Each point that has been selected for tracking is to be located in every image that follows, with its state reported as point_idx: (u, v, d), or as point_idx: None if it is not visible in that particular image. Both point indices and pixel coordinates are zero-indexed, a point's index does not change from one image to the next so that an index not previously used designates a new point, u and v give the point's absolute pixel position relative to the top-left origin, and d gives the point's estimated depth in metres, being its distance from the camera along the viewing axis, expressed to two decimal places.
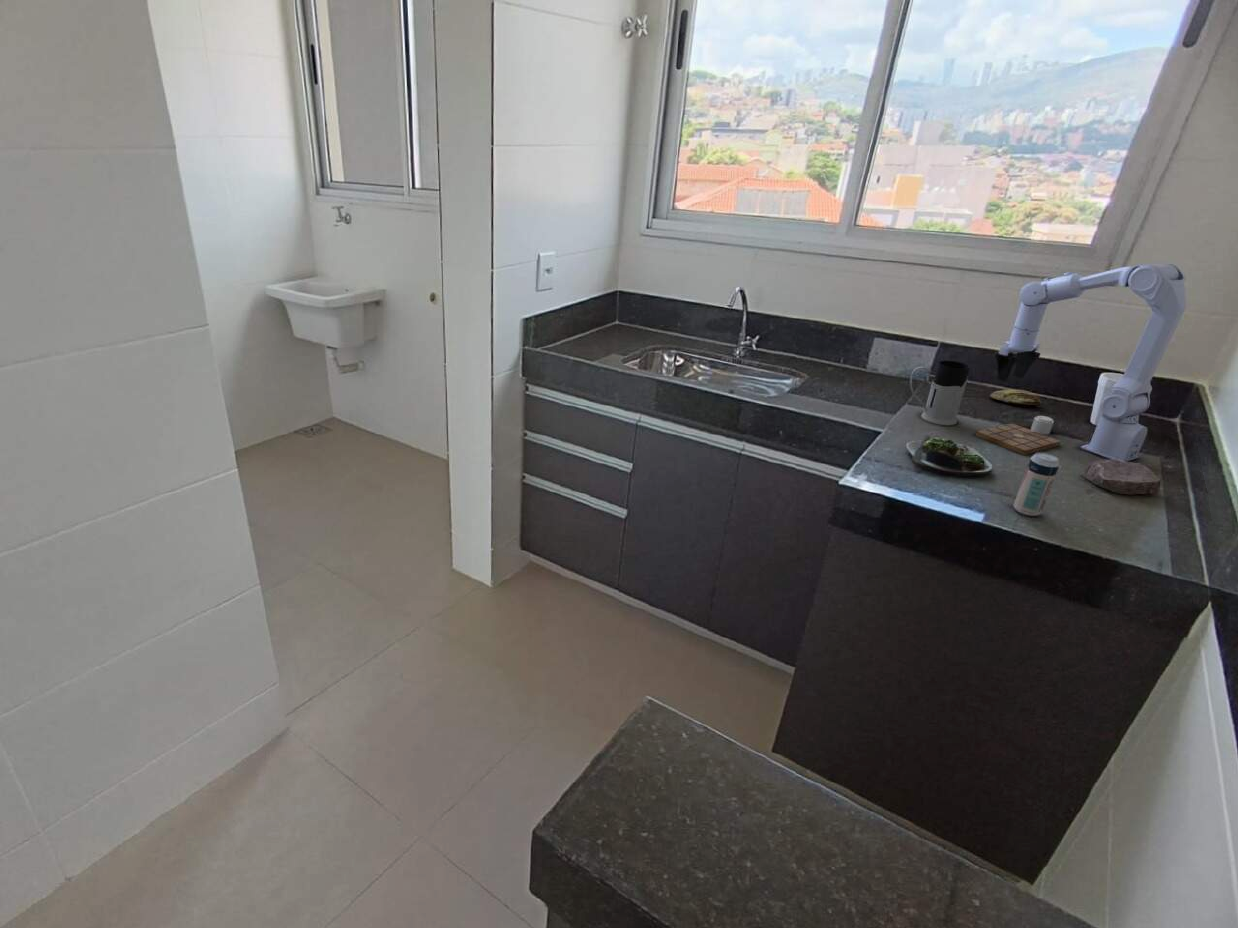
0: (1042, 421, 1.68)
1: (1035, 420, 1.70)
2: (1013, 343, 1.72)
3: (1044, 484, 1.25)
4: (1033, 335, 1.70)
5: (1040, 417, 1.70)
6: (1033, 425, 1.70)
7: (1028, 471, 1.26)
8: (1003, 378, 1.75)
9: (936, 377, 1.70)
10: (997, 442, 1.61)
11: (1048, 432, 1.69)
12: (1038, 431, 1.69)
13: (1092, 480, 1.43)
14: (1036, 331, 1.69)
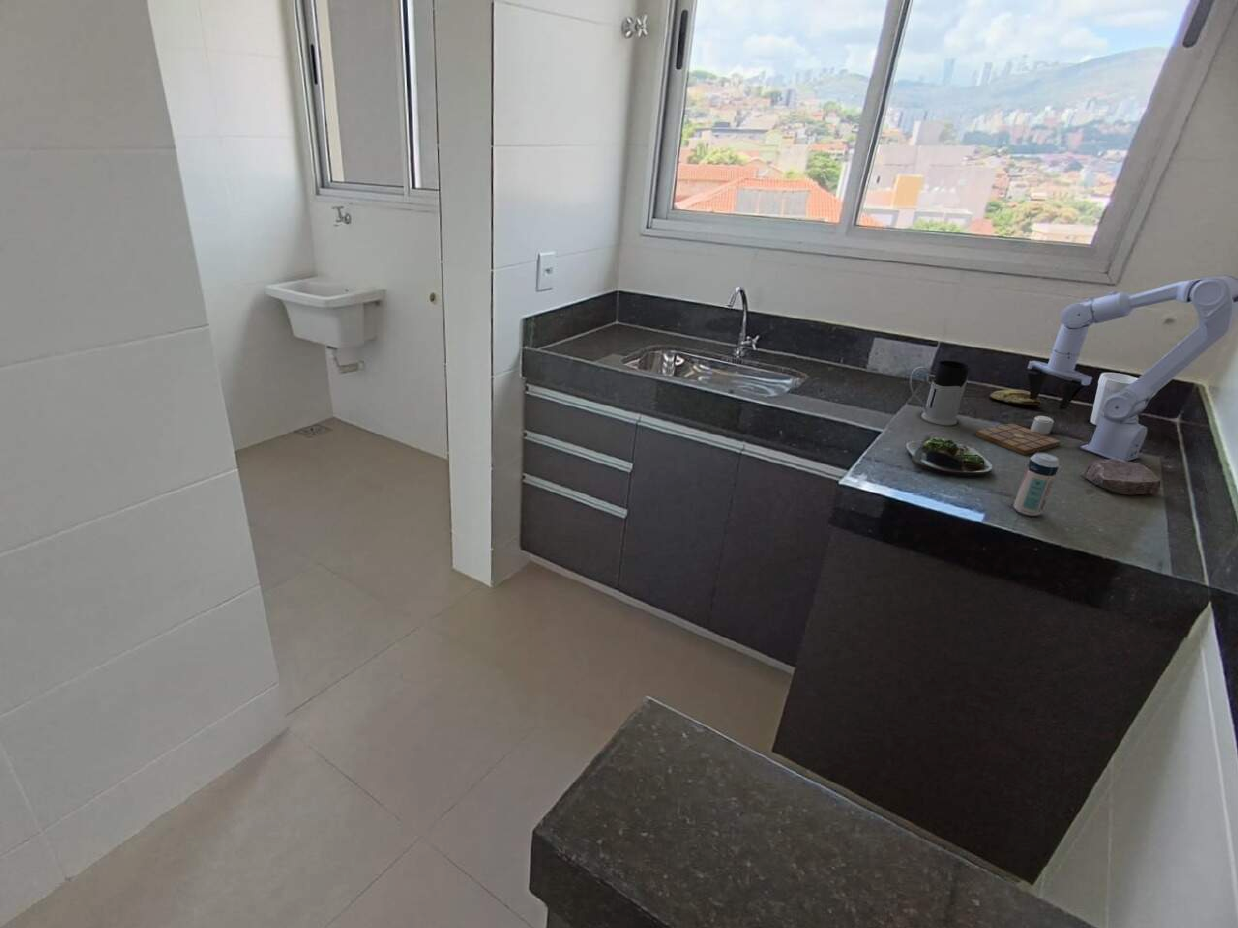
0: (1042, 421, 1.68)
1: (1035, 420, 1.70)
2: None
3: (1044, 484, 1.25)
4: (1055, 356, 1.62)
5: (1040, 417, 1.70)
6: (1033, 425, 1.70)
7: (1028, 471, 1.26)
8: None
9: (936, 377, 1.70)
10: (997, 442, 1.61)
11: (1048, 432, 1.69)
12: (1038, 431, 1.69)
13: (1092, 480, 1.43)
14: (1059, 352, 1.61)
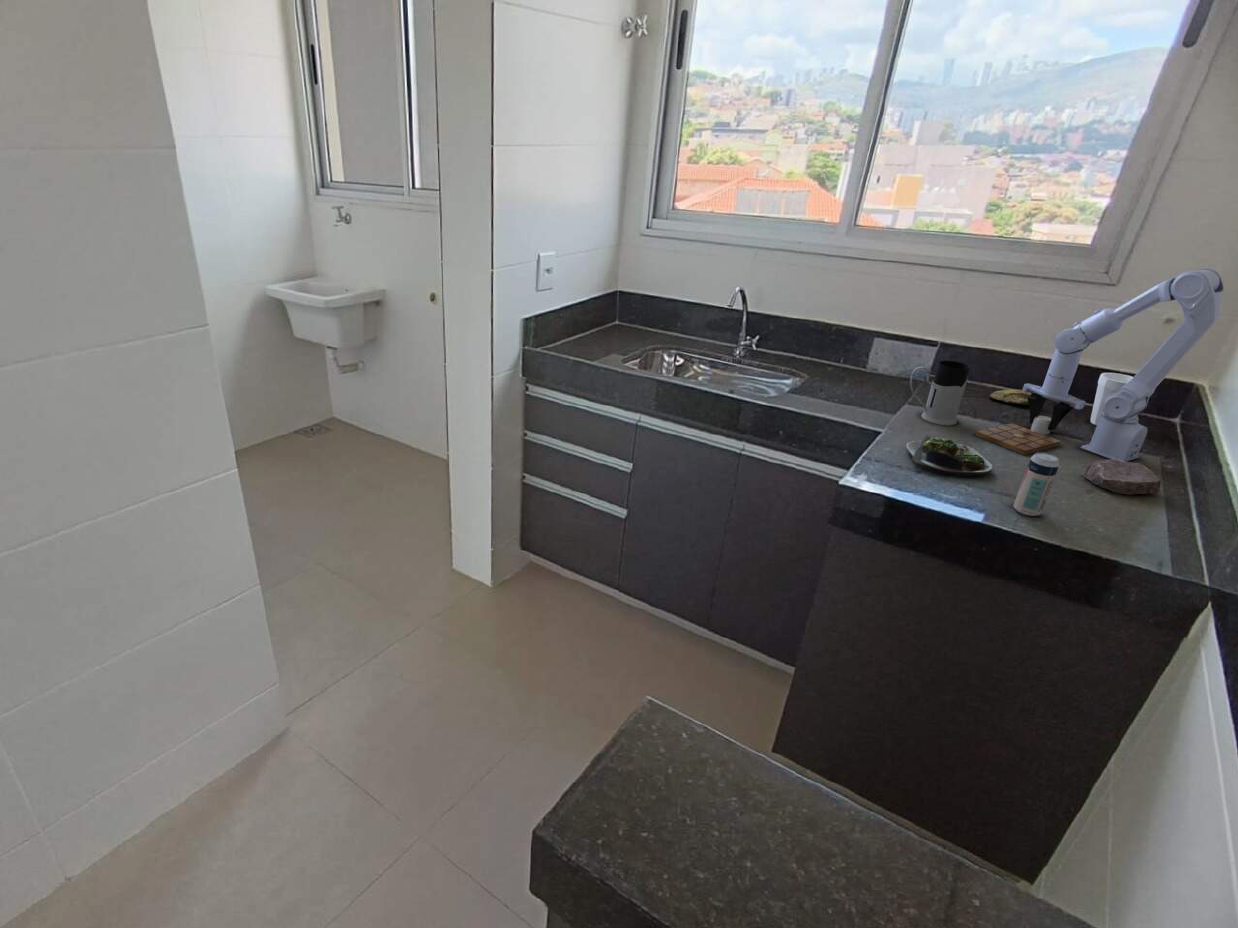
0: (1042, 421, 1.68)
1: (1035, 420, 1.70)
2: None
3: (1044, 484, 1.25)
4: (1049, 380, 1.64)
5: (1040, 417, 1.70)
6: (1033, 425, 1.70)
7: (1028, 471, 1.26)
8: None
9: (936, 377, 1.70)
10: (997, 442, 1.61)
11: (1048, 432, 1.69)
12: (1038, 431, 1.69)
13: (1092, 480, 1.43)
14: (1053, 377, 1.63)
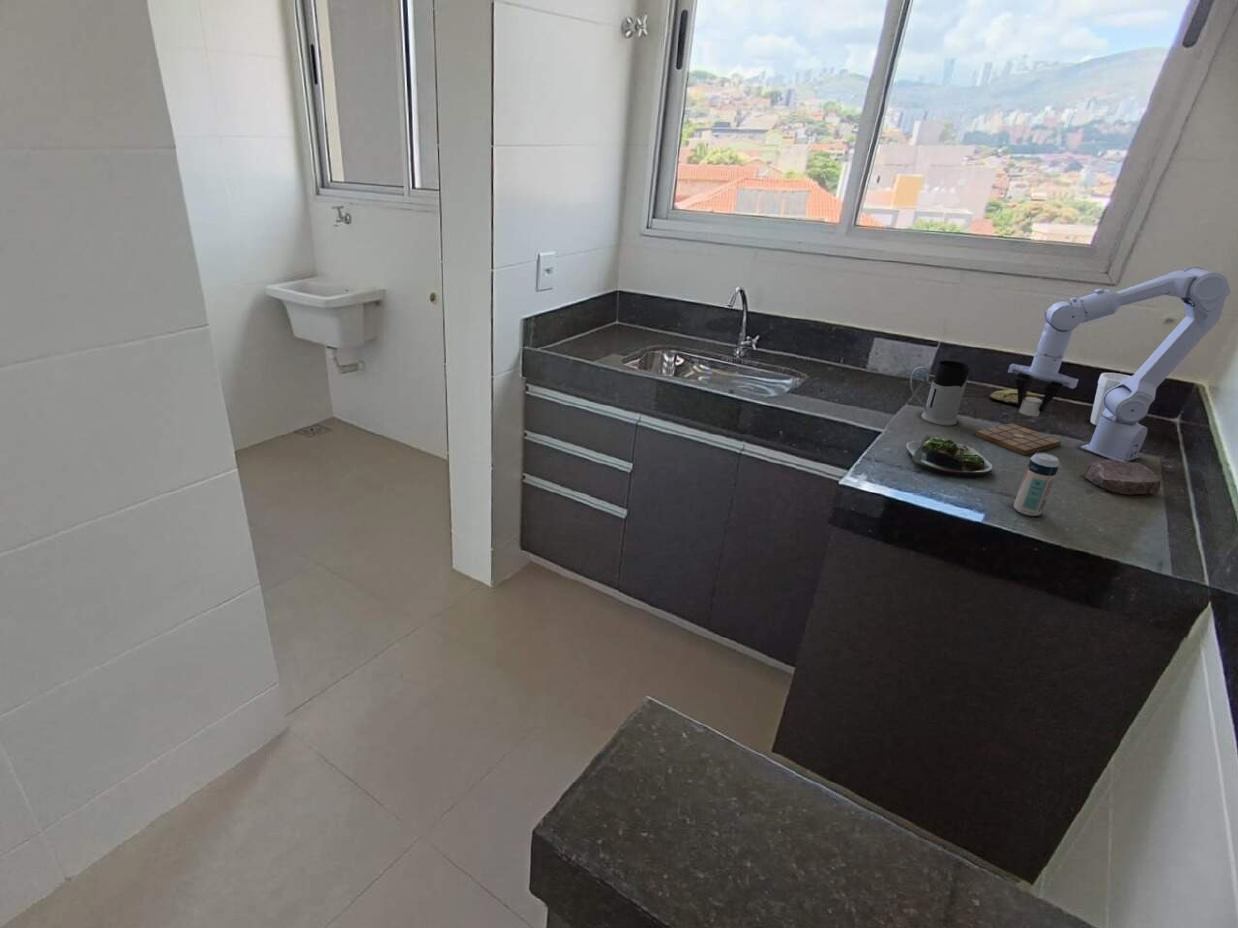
0: (1033, 403, 1.59)
1: (1025, 402, 1.60)
2: None
3: (1044, 484, 1.25)
4: (1041, 359, 1.55)
5: (1029, 398, 1.61)
6: (1022, 407, 1.61)
7: (1028, 471, 1.26)
8: None
9: (936, 377, 1.70)
10: (997, 442, 1.61)
11: (1038, 414, 1.60)
12: (1029, 413, 1.60)
13: (1092, 480, 1.43)
14: (1045, 356, 1.54)
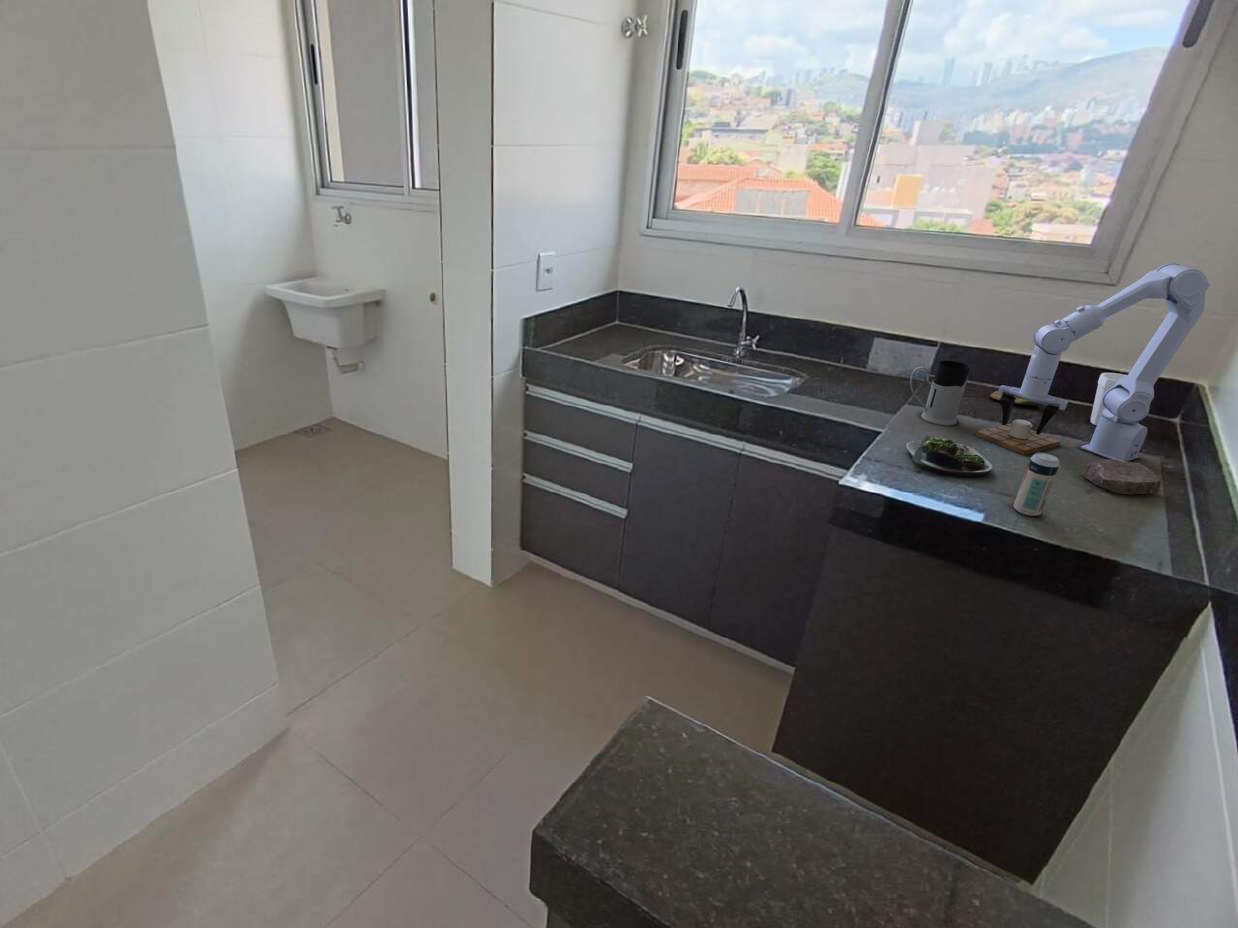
0: (1023, 426, 1.60)
1: (1015, 425, 1.62)
2: None
3: (1044, 484, 1.25)
4: (1031, 382, 1.56)
5: (1018, 421, 1.62)
6: (1013, 430, 1.62)
7: (1028, 471, 1.26)
8: None
9: (936, 377, 1.70)
10: (997, 442, 1.61)
11: (1028, 436, 1.62)
12: (1019, 436, 1.62)
13: (1092, 480, 1.43)
14: (1035, 378, 1.55)
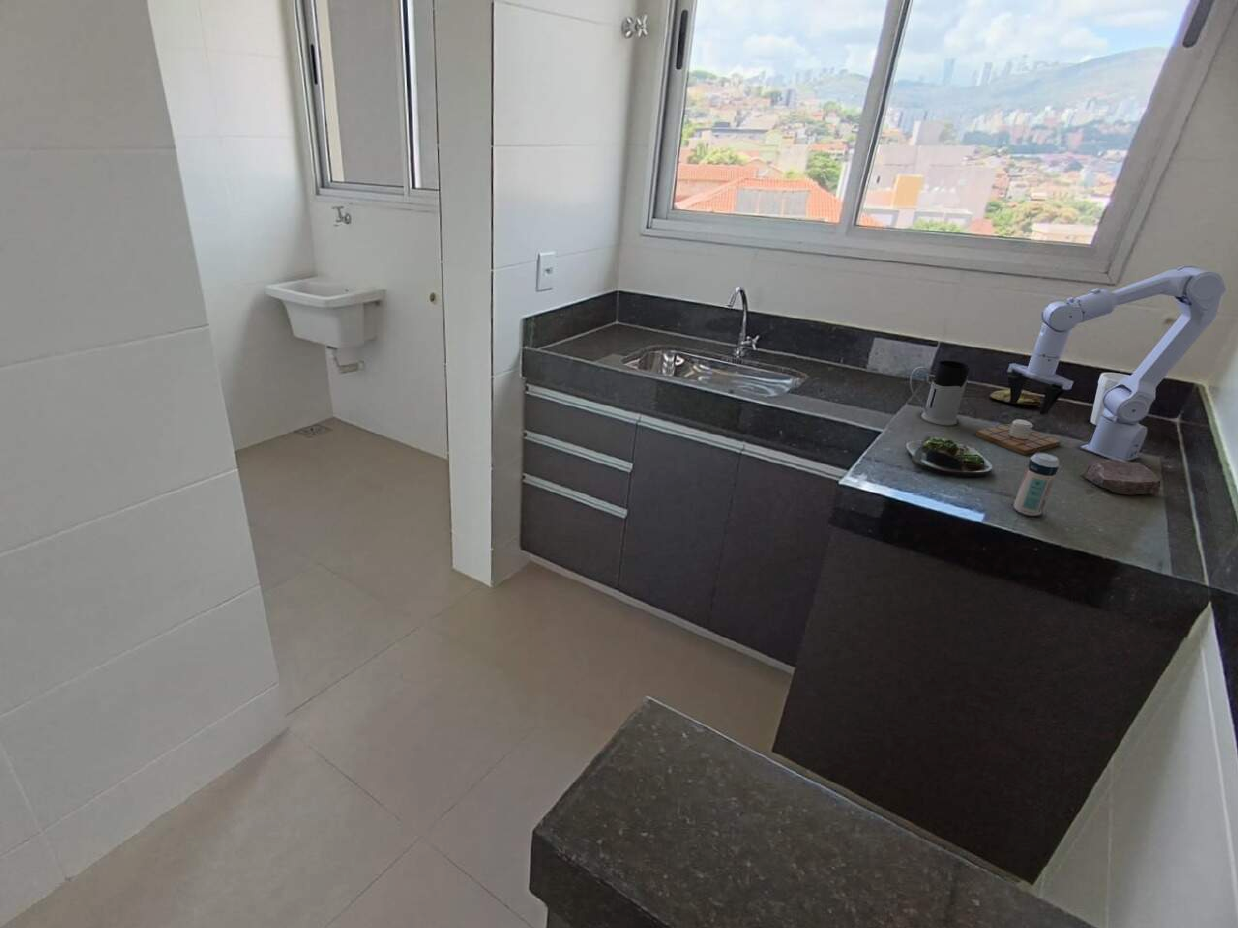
0: (1023, 426, 1.60)
1: (1015, 425, 1.62)
2: (1052, 374, 1.54)
3: (1044, 484, 1.25)
4: None
5: (1018, 421, 1.62)
6: (1013, 430, 1.62)
7: (1028, 471, 1.26)
8: (1047, 411, 1.57)
9: (936, 377, 1.70)
10: (997, 442, 1.61)
11: (1028, 436, 1.62)
12: (1019, 436, 1.62)
13: (1092, 480, 1.43)
14: None
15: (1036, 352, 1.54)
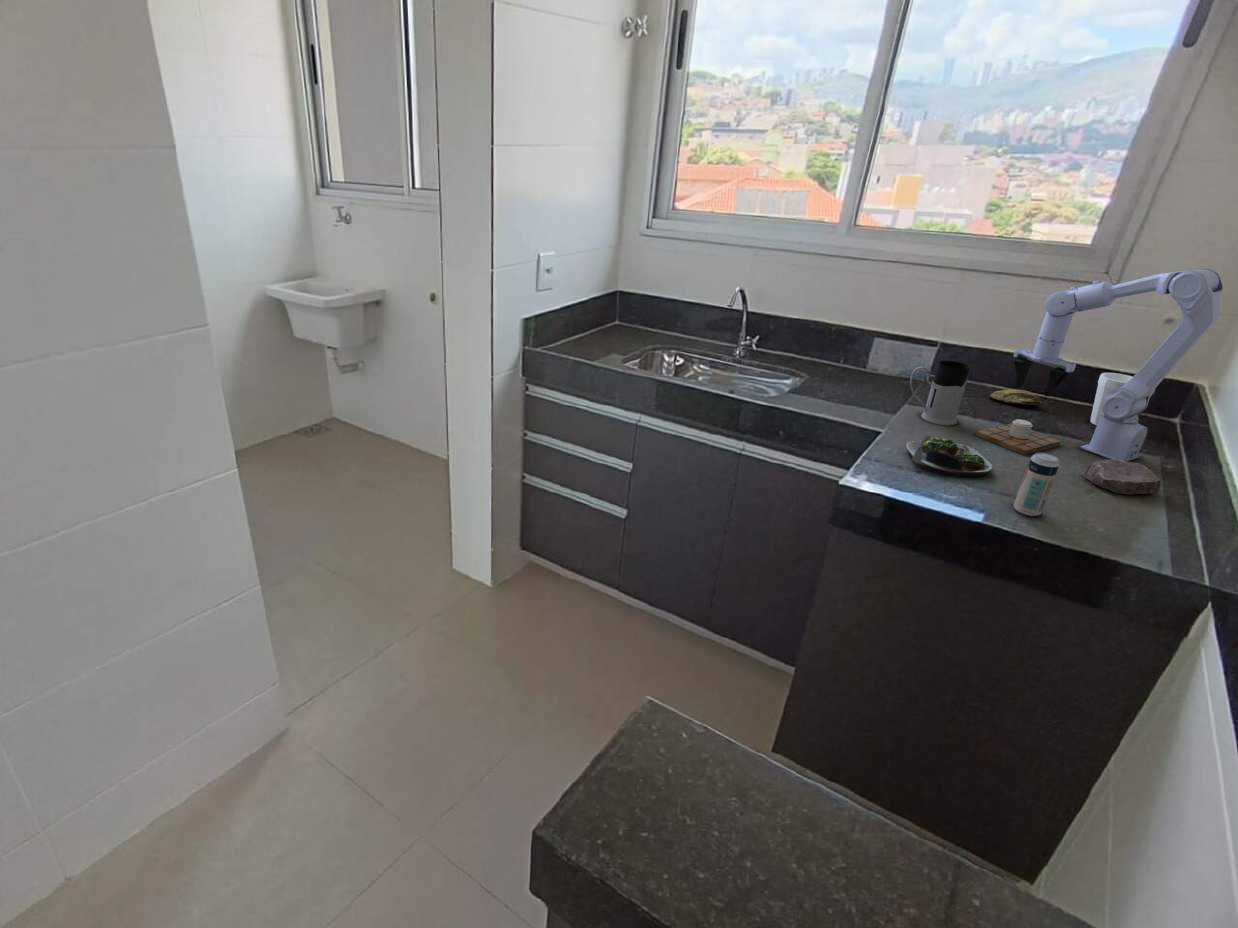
0: (1023, 426, 1.60)
1: (1015, 425, 1.62)
2: (1056, 357, 1.64)
3: (1044, 484, 1.25)
4: None
5: (1018, 421, 1.62)
6: (1013, 430, 1.62)
7: (1028, 471, 1.26)
8: (1051, 393, 1.67)
9: (936, 377, 1.70)
10: (997, 442, 1.61)
11: (1028, 436, 1.62)
12: (1019, 436, 1.62)
13: (1092, 480, 1.43)
14: None
15: None
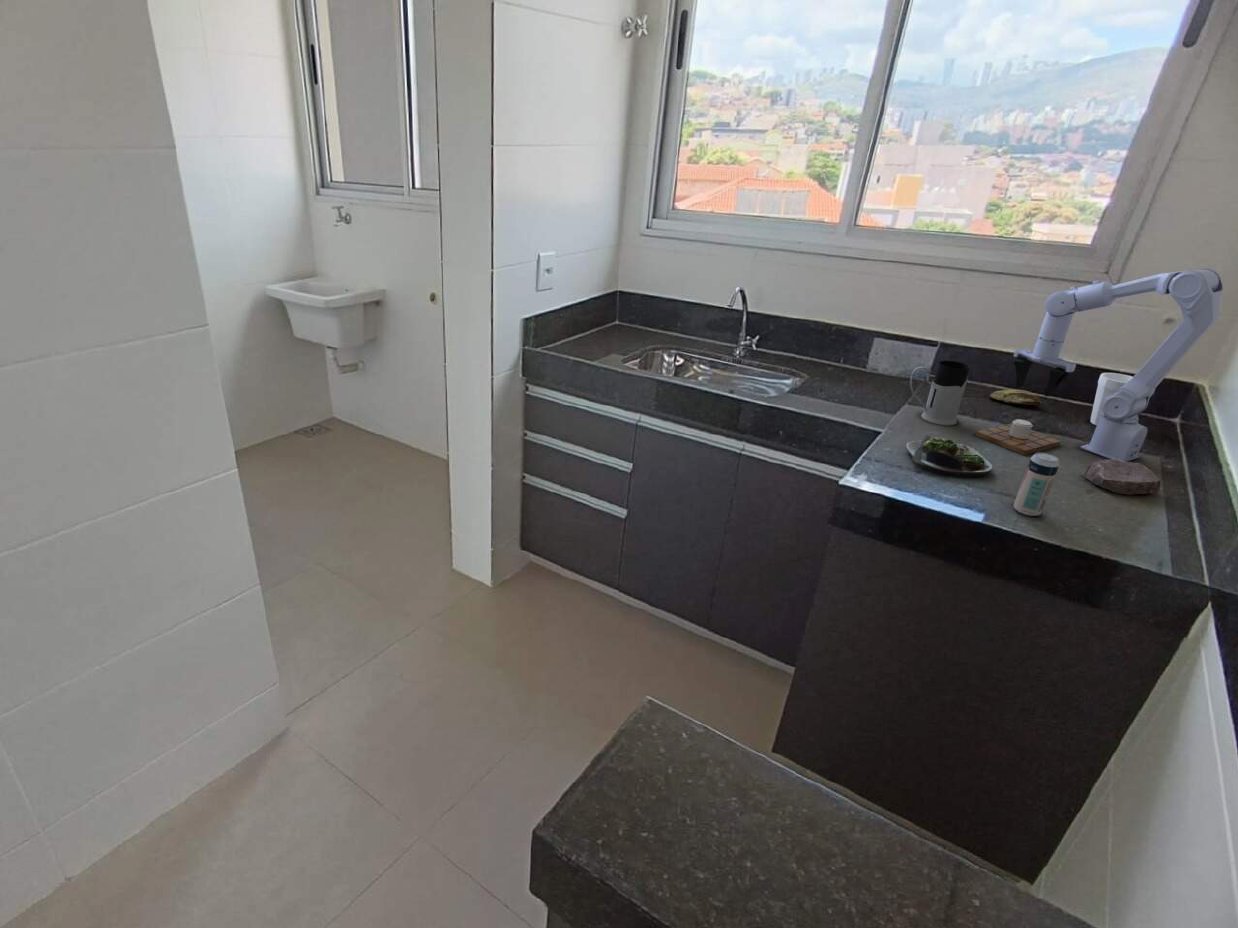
0: (1023, 426, 1.60)
1: (1015, 425, 1.62)
2: (1056, 357, 1.64)
3: (1044, 484, 1.25)
4: None
5: (1018, 421, 1.62)
6: (1013, 430, 1.62)
7: (1028, 471, 1.26)
8: (1051, 393, 1.67)
9: (936, 377, 1.70)
10: (997, 442, 1.61)
11: (1028, 436, 1.62)
12: (1019, 436, 1.62)
13: (1092, 480, 1.43)
14: None
15: None
